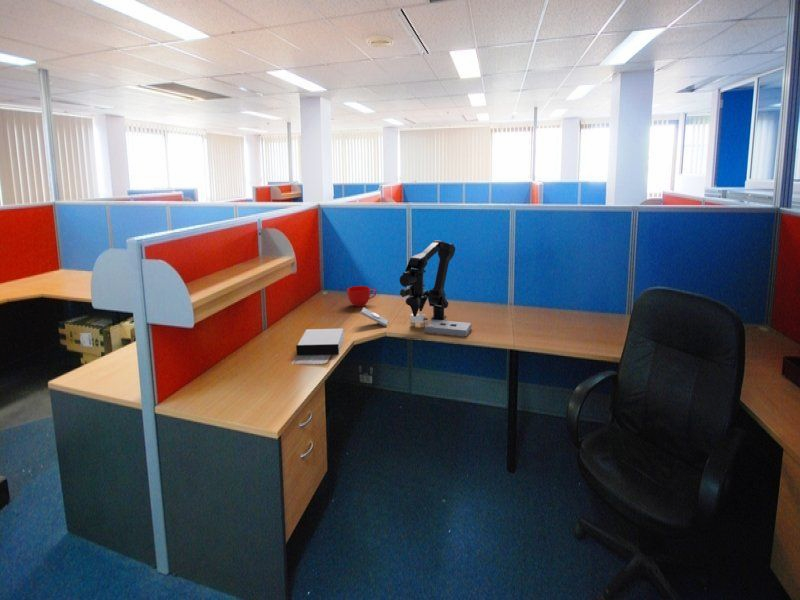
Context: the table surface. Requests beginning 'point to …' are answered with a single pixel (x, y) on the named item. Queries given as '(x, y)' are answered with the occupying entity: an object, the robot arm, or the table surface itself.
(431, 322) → the socket
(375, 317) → the light switch
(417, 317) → the plug
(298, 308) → the table surface
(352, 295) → the ceramic cup
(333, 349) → the disc drive
